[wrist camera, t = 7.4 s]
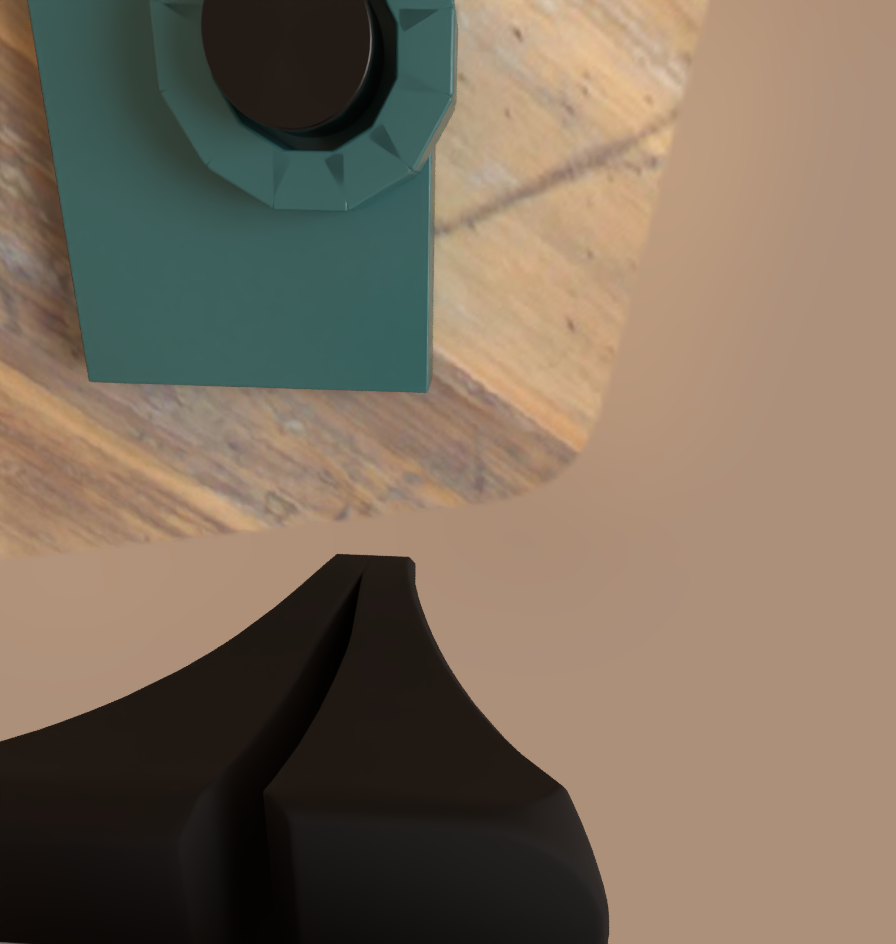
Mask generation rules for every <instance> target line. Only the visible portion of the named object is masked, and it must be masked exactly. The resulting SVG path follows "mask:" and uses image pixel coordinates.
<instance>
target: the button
mask: <svg viewBox="0 0 896 944" xmlns="http://www.w3.org/2000/svg"><path fill="white" fill-rule="evenodd" d="M201 36H202V43H203V49H204V52H205V56H206V60H207V63H208V65H209V68H210V71H211V73H212V75H213V77H214V79H215V81H216V83H217V85H218V86H219V88H220V89H221V91H222V92H223V94H224V95H225V96H226V97H227V98H228V100H229V101H230V102H231V103H232V104H233V105H234V106H235V107H236V108H237V109H238V110H239V111H240V112H242V113H243V114H244V115H246V116H247V117H248V118H250V119H251V120H253V121H255V122H257V123H259V124H261V125H263V126H266V127H268V128H271V129H274V130H277V131H280V132H283V133H287V134H290V135H293V136H298V137H304V138H320V137H325V136H330V135H333V134H335V133H338V132H340V131H342V130H344V129H346V128H348V127H349V126H350V125H352V124H353V123H354V122H356V121H357V120H358V119H359V118H360V117H361V116H362V115H363V114H364V112H365V111H366V110H367V108H368V107H369V106H370V104H371V102H372V101H373V99H374V97H375V95H376V92H377V90H378V88H379V85H380V81H381V78H382V73H383V67H384V41H383V36H382V30H381V27H380V24H379V20H378V17H377V15H376V13H375V11H374V8H373V6H372V5H371V3H370V1H369V0H204V1H203V6H202V15H201Z"/></svg>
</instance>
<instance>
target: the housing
mask: <svg viewBox="0 0 896 944" xmlns="http://www.w3.org/2000/svg"><path fill="white" fill-rule="evenodd" d="M27 1H28V7H29V13H30V19H31V25H32V31H33V38H34V44H35V50H36V56H37V62H38V69H39V75H40V81H41V87H42V93H43V100H44V106H45V112H46V118H47V124H48V131H49V137H50V143H51V149H52V155H53V162H54V168H55V174H56V180H57V186H58V192H59V199H60V205H61V211H62V217H63V223H64V230H65V236H66V242H67V248H68V254H69V261H70V267H71V273H72V279H73V285H74V292H75V298H76V304H77V310H78V316H79V322H80V329H81V335H82V341H83V347H84V353H85V360H86V366H87V372H88V378H89V381H90V382H105V383H137V384H168V385H199V386H230V387H261V388H292V389H324V390H355V391H386V392H417V393H427V392H428V391H429V387H430V383H431V379H432V349H433V282H434V215H435V147H436V143H437V142H438V140H439V138H440V136H441V134H442V132H443V131H444V129H445V127H446V125H447V123H448V122H449V120H450V118H451V116H452V114H453V112H454V111H455V104H456V92H457V50H458V24H457V16H456V10H455V4H454V0H369V1H370V3H371V5H372V6H373V8H374V11H375V13H376V15H377V17H378V20H379V24H380V27H381V30H382V36H383V41H384V67H383V73H382V78H381V81H380V85H379V88H378V90H377V92H376V95H375V97H374V99H373V101H372V102H371V104H370V106H369V107H368V108H367V110H366V111H365V112H364V114H363V115H362V116H361V117H360V118H359V119H358V120H357V121H356V122H354V123H353V124H352V125H350V126H349V127H348V128H346V129H344V130H342V131H340V132H338V133H335V134H333V135H330V136H325V137H320V138H304V137H298V136H293V135H290V134H287V133H283V132H280V131H277V130H274V129H271V128H268V127H266V126H263V125H261V124H259V123H257V122H255V121H253V120H251V119H250V118H248V117H247V116H246V115H244V114H243V113H242V112H240V111H239V110H238V109H237V108H236V107H235V106H234V105H233V104H232V103H231V102H230V101H229V100H228V98H227V97H226V96H225V95H224V94H223V92H222V91H221V89H220V88H219V86H218V85H217V83H216V81H215V79H214V77H213V75H212V73H211V71H210V68H209V65H208V63H207V60H206V56H205V52H204V49H203V43H202V36H201V15H202V6H203V1H204V0H27Z"/></svg>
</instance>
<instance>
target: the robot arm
mask: <svg viewBox="0 0 896 944" xmlns="http://www.w3.org/2000/svg"><path fill="white" fill-rule="evenodd" d="M608 937H609V912H608V904H607V898H606V894H605V890H604V885H603V882H602V879H601V875H600V872H599V869H598V866H597V863H596V860H595V856H594V854H593V850H592V848H591V845H590V843H589V840H588V837H587V835H586V832H585V830H584V827H583V825H582V822H581V820H580V818H579V816H578V813H577V811H576V809H575V807H574V804H573V802H572V800H571V798H570V796H569V794H568V792H567V790H566V789H565V788H564V787H563V786H562V785H561V784H559V783H558V782H557V781H556V780H554V779H553V778H551V777H550V776H549V775H548V774H546V773H545V772H544V771H543V770H541V769H540V768H539V767H537V766H536V765H535V764H533V763H532V762H531V761H530V760H528V759H527V758H525V757H524V756H523V755H522V754H521V753H520V752H518V751H517V750H516V749H515V748H514V747H513V746H512V745H511V744H510V743H509V742H508V741H507V740H506V739H505V738H504V737H503V736H502V735H501V734H500V733H499V731H498V730H497V729H496V728H495V727H494V726H493V725H492V723H491V722H490V721H489V720H488V719H487V718H486V717H485V715H484V714H483V713H482V712H481V711H480V710H479V709H478V707H477V706H476V705H475V704H474V702H473V701H472V700H471V698H470V697H469V696H468V694H467V693H466V691H465V690H464V689H463V687H462V686H461V684H460V683H459V681H458V680H457V678H456V677H455V675H454V674H453V672H452V670H451V669H450V667H449V665H448V664H447V662H446V660H445V659H444V657H443V655H442V653H441V651H440V649H439V647H438V645H437V643H436V641H435V639H434V637H433V635H432V632H431V630H430V628H429V625H428V623H427V620H426V618H425V615H424V612H423V610H422V607H421V604H420V601H419V598H418V593H417V589H416V585H415V563H414V562H413V561H412V560H411V558H409V557H397V556H374V555H349V554H336V555H335V556H334V557H333V558H332V559H330V560H329V561H328V562H327V563H326V564H325V565H323V566H322V567H321V568H320V569H319V570H318V571H317V572H315V573H314V574H313V575H312V576H311V577H310V578H309V579H308V580H306V581H305V582H304V583H303V584H302V585H301V586H300V587H298V588H297V589H296V590H295V591H294V592H293V593H291V594H290V595H289V596H288V597H287V598H285V599H284V600H283V601H282V602H281V603H279V604H278V605H277V606H276V607H274V608H273V609H272V610H270V611H269V612H268V613H266V614H265V615H264V616H262V617H261V618H260V619H259V620H257V621H256V622H254V623H253V624H251V625H250V626H249V627H247V628H246V629H245V630H244V631H242V632H241V633H239V634H238V635H237V636H235V637H234V638H232V639H231V640H229V641H228V642H226V643H225V644H223V645H221V646H220V647H218V648H217V649H215V650H214V651H212V652H210V653H209V654H207V655H205V656H203V657H202V658H200V659H198V660H196V661H195V662H193V663H191V664H190V665H188V666H186V667H184V668H182V669H181V670H179V671H177V672H175V673H173V674H171V675H169V676H167V677H164V678H163V679H160V680H158V681H156V682H154V683H152V684H150V685H148V686H146V687H144V688H142V689H140V690H138V691H136V692H134V693H132V694H130V695H128V696H125V697H123V698H121V699H118V700H116V701H114V702H111V703H109V704H107V705H104V706H102V707H99V708H97V709H94V710H92V711H89V712H87V713H84V714H81V715H79V716H76V717H73V718H71V719H68V720H65V721H63V722H60V723H57V724H54V725H51V726H48V727H45V728H43V729H40V730H37V731H33V732H30V733H27V734H24V735H20V736H17V737H14V738H10V739H7V740H4V741H1V742H0V944H608Z"/></svg>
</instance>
